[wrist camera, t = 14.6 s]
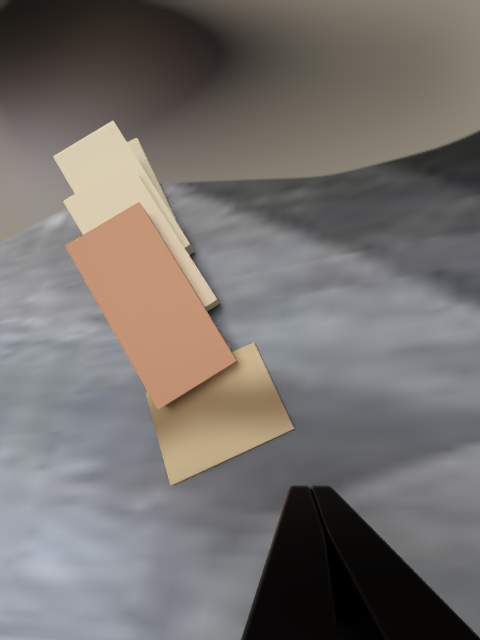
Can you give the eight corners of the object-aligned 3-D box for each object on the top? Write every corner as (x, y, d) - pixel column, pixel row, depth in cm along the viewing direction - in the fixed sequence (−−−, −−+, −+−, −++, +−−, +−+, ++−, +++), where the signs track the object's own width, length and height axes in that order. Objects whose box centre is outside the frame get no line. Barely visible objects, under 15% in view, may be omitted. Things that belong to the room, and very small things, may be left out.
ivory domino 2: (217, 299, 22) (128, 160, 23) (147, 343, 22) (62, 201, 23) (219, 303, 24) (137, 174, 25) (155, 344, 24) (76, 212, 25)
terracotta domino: (236, 360, 20) (139, 201, 21) (157, 409, 19) (65, 245, 21) (237, 360, 21) (147, 214, 23) (165, 405, 21) (79, 254, 23)
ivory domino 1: (190, 244, 24) (113, 120, 26) (127, 283, 24) (53, 156, 26) (194, 252, 26) (122, 135, 28) (135, 288, 26) (66, 169, 28)
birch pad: (294, 429, 20) (294, 428, 19) (173, 485, 20) (170, 485, 19) (254, 344, 22) (253, 342, 22) (148, 393, 22) (145, 392, 22)
